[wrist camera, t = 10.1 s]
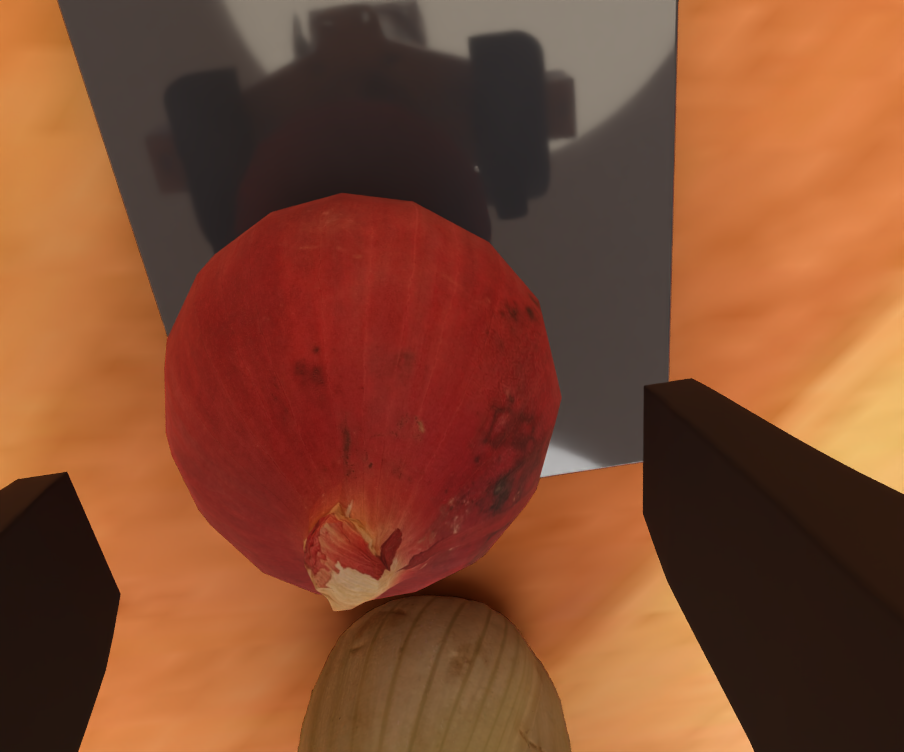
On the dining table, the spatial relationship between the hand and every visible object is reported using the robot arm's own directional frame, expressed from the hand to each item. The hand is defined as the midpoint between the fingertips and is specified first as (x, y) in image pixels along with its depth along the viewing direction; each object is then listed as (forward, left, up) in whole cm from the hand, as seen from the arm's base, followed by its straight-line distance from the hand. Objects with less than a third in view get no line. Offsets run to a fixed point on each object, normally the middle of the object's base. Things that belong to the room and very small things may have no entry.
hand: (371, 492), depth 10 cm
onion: (0, 0, -6) cm, 6 cm away
